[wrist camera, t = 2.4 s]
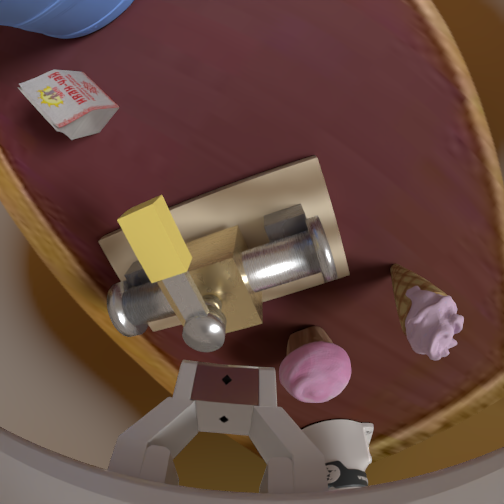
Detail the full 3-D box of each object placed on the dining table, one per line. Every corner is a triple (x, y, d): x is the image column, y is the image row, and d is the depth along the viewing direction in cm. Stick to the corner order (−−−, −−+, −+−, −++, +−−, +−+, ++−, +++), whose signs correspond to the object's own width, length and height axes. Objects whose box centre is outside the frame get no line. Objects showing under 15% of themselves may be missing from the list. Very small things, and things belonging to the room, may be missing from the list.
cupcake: (265, 331, 41) (266, 389, 32) (323, 301, 38) (339, 357, 29) (297, 368, 44) (303, 422, 35) (350, 343, 42) (367, 397, 33)
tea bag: (99, 132, 30) (47, 147, 21) (64, 97, 27) (8, 102, 18) (119, 107, 28) (69, 112, 19) (83, 71, 26) (27, 68, 17)
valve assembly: (346, 268, 36) (376, 334, 25) (155, 324, 41) (130, 391, 30) (314, 155, 31) (345, 183, 20) (103, 236, 35) (52, 289, 24)
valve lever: (232, 330, 25) (231, 346, 23) (197, 338, 26) (194, 355, 24) (164, 193, 20) (155, 202, 18) (126, 210, 21) (114, 220, 19)
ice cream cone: (360, 271, 36) (403, 359, 23) (393, 233, 34) (456, 308, 21) (393, 296, 38) (439, 379, 25) (425, 261, 36) (485, 336, 22)
